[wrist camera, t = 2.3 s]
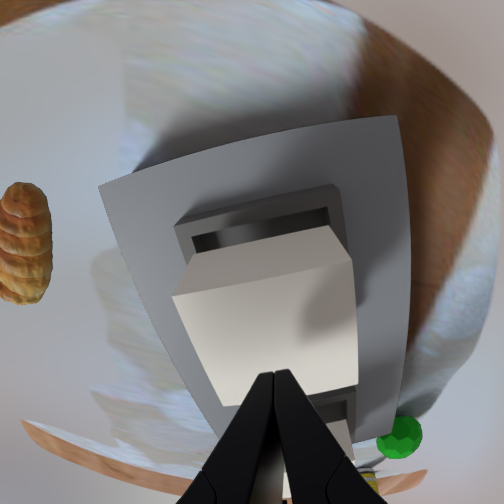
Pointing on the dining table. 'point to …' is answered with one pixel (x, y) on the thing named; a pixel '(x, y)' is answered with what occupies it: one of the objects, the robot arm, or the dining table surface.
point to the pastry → (25, 244)
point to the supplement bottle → (369, 477)
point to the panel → (275, 224)
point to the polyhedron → (401, 438)
